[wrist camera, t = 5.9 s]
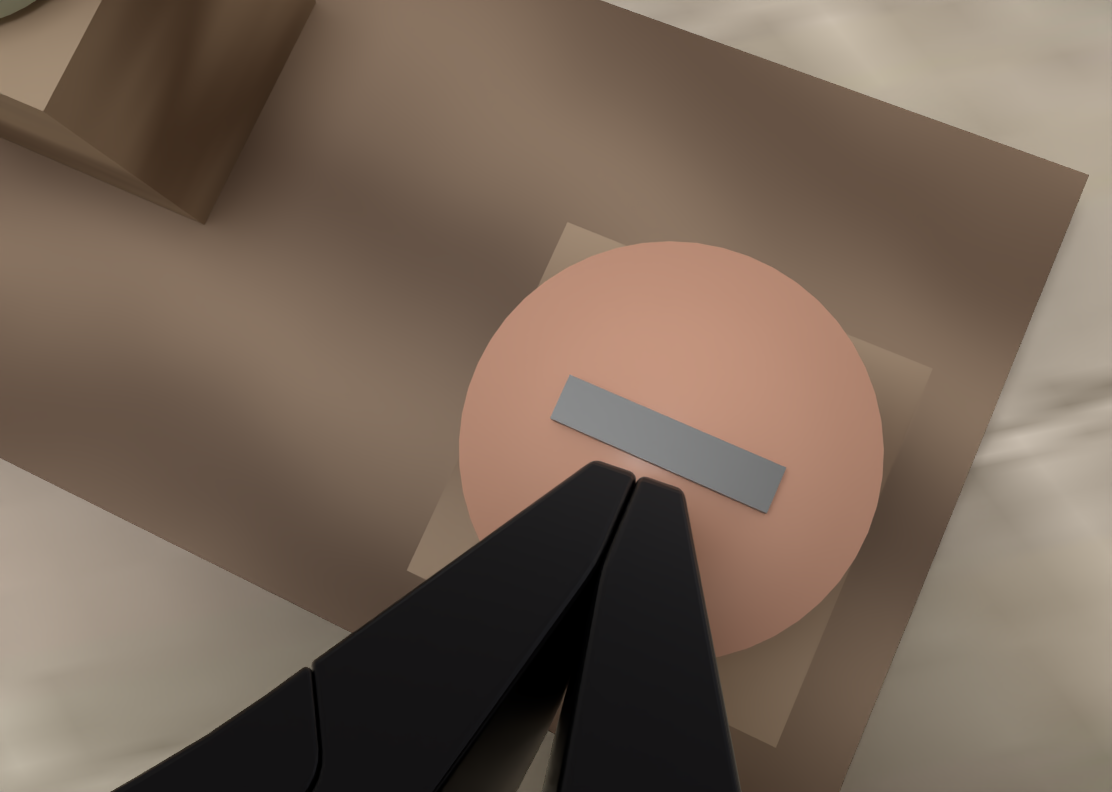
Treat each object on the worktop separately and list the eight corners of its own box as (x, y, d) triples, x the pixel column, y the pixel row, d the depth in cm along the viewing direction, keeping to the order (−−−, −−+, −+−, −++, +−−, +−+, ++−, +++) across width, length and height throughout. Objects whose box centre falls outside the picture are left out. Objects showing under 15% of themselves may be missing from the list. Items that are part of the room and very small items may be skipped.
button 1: (766, 712, 11) (785, 742, 9) (427, 551, 12) (385, 551, 10) (911, 364, 12) (955, 330, 10) (575, 229, 12) (559, 175, 11)
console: (799, 837, 19) (875, 998, 12) (-163, 361, 23) (-515, 281, 16) (1058, 202, 20) (1257, 24, 14) (108, -144, 24) (-111, -417, 18)
